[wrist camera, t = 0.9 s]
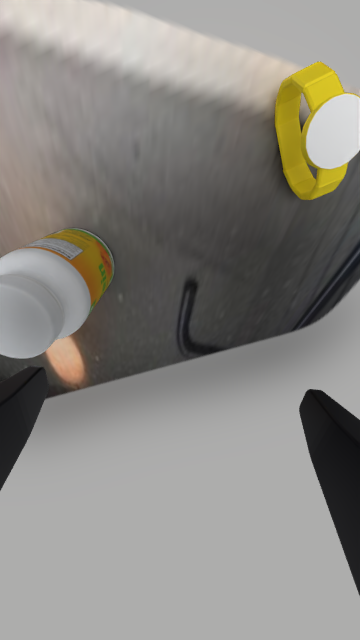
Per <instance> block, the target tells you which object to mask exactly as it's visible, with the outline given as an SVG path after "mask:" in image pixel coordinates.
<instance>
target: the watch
mask: <svg viewBox="0 0 360 640" xmlns="http://www.w3.org/2000/svg"><path fill="white" fill-rule="evenodd" d="M301 93H303V94H304V97H305V99H306V102H307V104H308V107H309V109H310V111H311V114H310V115H309V116H308V118H307V120H306V122H305V124H304V126H303V130H302V134H301V129H300V122H299V110H300V101H301ZM275 128H276V133H277V138H278V143H279V149H280V154H281V159H282V164H283V169H284V170H283V172H284V175H285V177H286V179H287V181H288V183H289V185H290V188H292V191H293V192H294V193H295V194H296V195H297V196H298V197H299V198H300V199H302V200H312V199H314V198H317V197H319V196H322V195H324V194H327V193H329V192H331V191H333V190H335V189H336V187H337V186H338V185H339V183H340V182H341V181H342V179H343V178H344V176H345V174H346V170H347V166H348V162H349V161H350V160H351V159H352V158H353V157H354V156H355V155H356V154H357V153H358V152H359V150H360V97H359V96H358V95H356V94H354V93H345V92H344V90H343V87H342V85H341V83H340V80H339V78H338V76H337V74H336V73H335V71H334V70H332V69H331V68H329V67H328V66H326V65H325V64H323V63H322V62H316V63H314V64H312V65H310V66H308V67H306V68H304V69H302V70H300V71H298V72H296V73H294V74H292V75H291V76H289V77H288V78H286V79H285V80H283V82H282V83H281V85H280V89H279V92H278V96H277V99H276V104H275ZM305 160H306V161H305ZM306 162H307V163H308V164H309V165H311V166H313V167H314V168H317V177H316V179H315V178H313V175H312V173H311V171H310V169H309V167H308V165H307V163H306Z"/></svg>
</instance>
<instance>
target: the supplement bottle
mask: <svg viewBox="0 0 360 640" xmlns="http://www.w3.org/2000/svg"><path fill="white" fill-rule="evenodd" d="M113 276H114V260H113V257H112V254H111V252H110V250H109V248H108V247H107V245H106V244H105V243H104V242H103V241H102V240H101V239H100V238H99V237H97V236H96V235H94V234H93V233H91V232H89V231H86V230H83V229H78V228H68V229H63V230H60V231H57V232H55V233H53V234H50V235H48V236H46V237H44V238H41V239H39V240H37V241H35V242H32V243H30V244H28V245H26V246H23V247H21V248H19V249H16V250H14V251H12V252H10V253H8V254H6V255H5V256H3V257H1V258H0V354H1V355H4V356H8V357H12V358H31V357H35V356H37V355H40V354H42V353H43V352H45V351H46V350H47V349H48V348H49V347H50V346H51V344H52V343H53V342H54V341H55V340H57V339H61V338H64V337H67V336H69V335H71V334H72V333H74V332H75V331H77V330H78V329H79V328H80V327H81V326H82V324H83V323H84V322H85V320H86V319H87V317H88V316H89V314H90V313H91V311H92V310H93V308H94V307H95V305H96V304H97V302H98V301H99V299H100V298H101V296H102V295H103V294H104V292H105V291H106V289H107V288H108V286H109V285H110V283H111V281H112V279H113Z"/></svg>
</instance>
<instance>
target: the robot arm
mask: <svg viewBox="0 0 360 640" xmlns="http://www.w3.org/2000/svg"><path fill="white" fill-rule="evenodd" d="M48 389H49V384H48V380H47V375H46V371H45V369H44V367H41V366H29V367H27V368H25V369H23V370H22V371H20V372H18V373H16V374H15V375H13V376H11V377H9V378H7V379H6V380H4V381H2V382H0V490H1V488H2V487H3V485H4V483H5V481H6V479H7V477H8V475H9V474H10V472H11V470H12V468H13V466H14V464H15V462H16V461H17V459H18V457H19V455H20V453H21V451H22V449H23V448H24V446H25V444H26V442H27V440H28V438H29V436H30V434H31V431H32V429H33V427H34V424H35V422H36V419H37V417H38V415H39V412H40V410H41V407H42V405H43V402H44V400H45V398H46V395H47V393H48ZM299 412H300V417H301V420H302V425H303V429H304V433H305V437H306V441H307V445H308V450H309V453H310V457H311V460H312V463H313V466H314V469H315V472H316V474H317V477H318V480H319V483H320V486H321V489H322V491H323V494H324V497H325V499H326V503H327V505H328V508H329V511H330V514H331V517H332V519H333V522H334V525H335V528H336V530H337V533H338V536H339V539H340V541H341V544H342V548H343V550H344V553H345V556H346V559H347V561H348V564H349V567H350V570H351V573H352V576H353V579H354V581H355V584H356V587H357V590H358V592H359V595H360V420H359V419H358V418H357V417H355V416H354V415H352V414H351V413H350V412H349V411H347V410H346V409H345V408H343V407H342V406H341V405H340V404H338V403H337V402H336V401H335V400H333V399H332V398H331V397H329V396H328V395H327V394H326V393H324V392H323V391H321V390H313V389H309V390H308V391H307V392H306V393H305V396H304V398H303V400H302V402H301V404H300V408H299Z"/></svg>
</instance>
